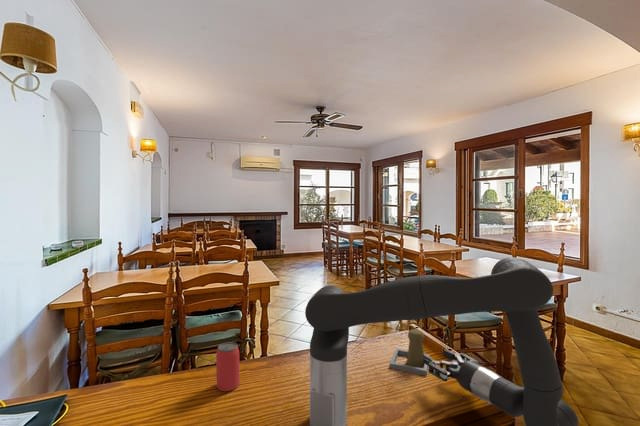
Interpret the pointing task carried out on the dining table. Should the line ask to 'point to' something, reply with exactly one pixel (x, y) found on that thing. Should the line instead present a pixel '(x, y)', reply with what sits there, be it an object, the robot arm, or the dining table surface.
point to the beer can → (227, 366)
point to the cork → (415, 348)
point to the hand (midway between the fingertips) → (433, 355)
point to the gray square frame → (406, 367)
